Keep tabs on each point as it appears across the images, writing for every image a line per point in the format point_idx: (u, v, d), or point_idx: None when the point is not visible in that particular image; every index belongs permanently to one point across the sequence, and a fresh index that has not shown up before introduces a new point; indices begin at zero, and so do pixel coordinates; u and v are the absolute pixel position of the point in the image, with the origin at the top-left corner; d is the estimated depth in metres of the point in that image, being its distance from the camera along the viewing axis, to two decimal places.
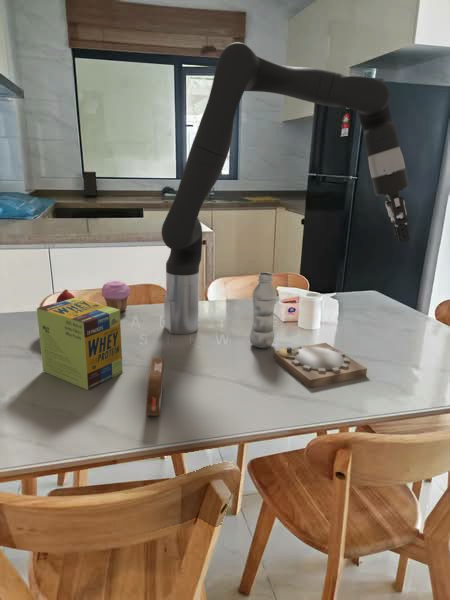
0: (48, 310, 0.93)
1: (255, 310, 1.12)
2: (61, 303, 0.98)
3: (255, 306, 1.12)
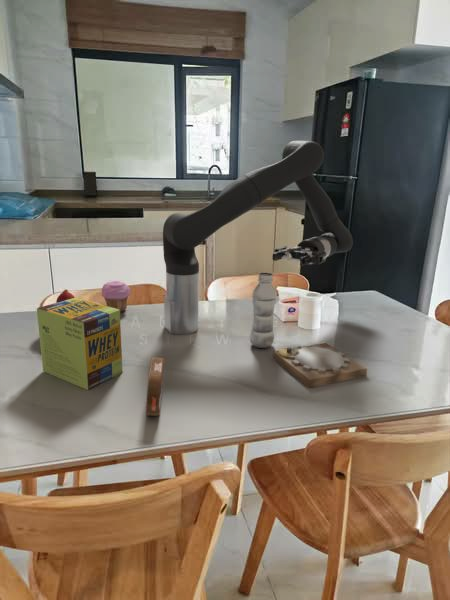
0: (48, 310, 0.93)
1: (255, 310, 1.12)
2: (61, 303, 0.98)
3: (255, 306, 1.12)
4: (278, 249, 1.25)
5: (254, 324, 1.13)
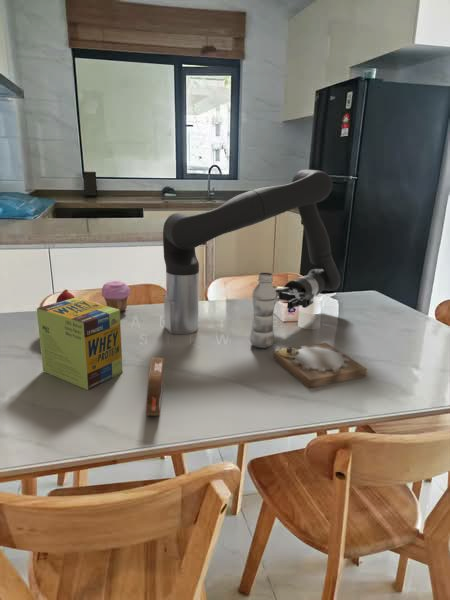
0: (48, 310, 0.93)
1: (255, 310, 1.12)
2: (61, 303, 0.98)
3: (255, 306, 1.12)
4: None
5: (254, 324, 1.13)
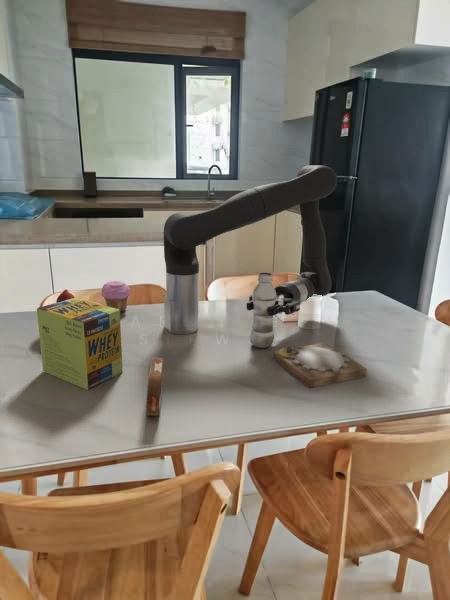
0: (48, 310, 0.93)
1: (255, 310, 1.12)
2: (61, 303, 0.98)
3: (255, 306, 1.12)
4: None
5: (254, 324, 1.13)
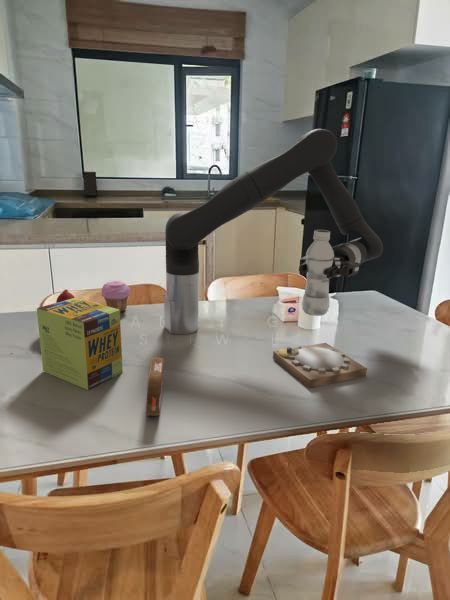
0: (48, 310, 0.93)
1: (310, 272, 0.99)
2: (61, 303, 0.98)
3: (310, 268, 0.99)
4: (305, 259, 1.05)
5: (308, 289, 1.00)
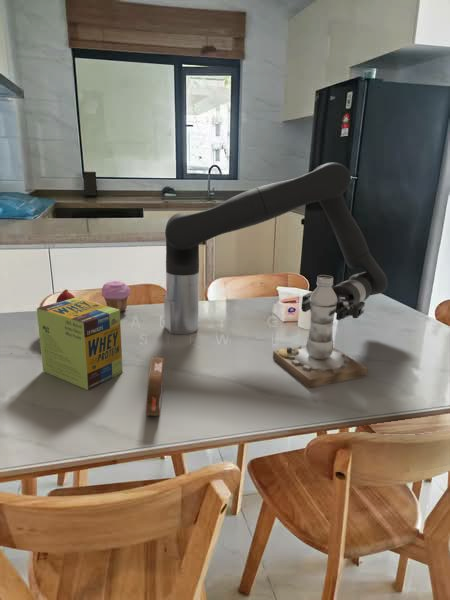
0: (48, 310, 0.93)
1: (314, 317, 1.00)
2: (61, 303, 0.98)
3: (314, 313, 1.00)
4: (307, 296, 1.07)
5: (312, 333, 1.02)
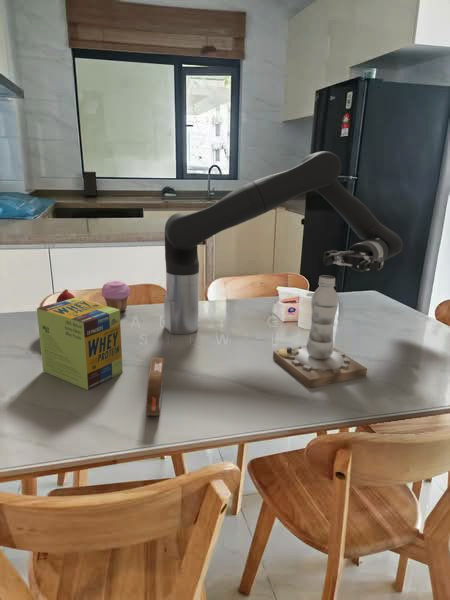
0: (48, 310, 0.93)
1: (315, 317, 1.00)
2: (61, 303, 0.98)
3: (315, 313, 1.00)
4: (329, 253, 1.12)
5: (313, 333, 1.02)
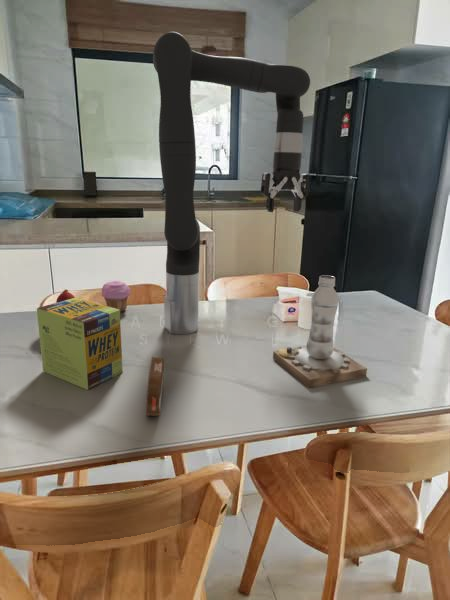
0: (48, 310, 0.93)
1: (315, 317, 1.00)
2: (61, 303, 0.98)
3: (315, 313, 1.00)
4: (268, 193, 1.18)
5: (313, 333, 1.02)
